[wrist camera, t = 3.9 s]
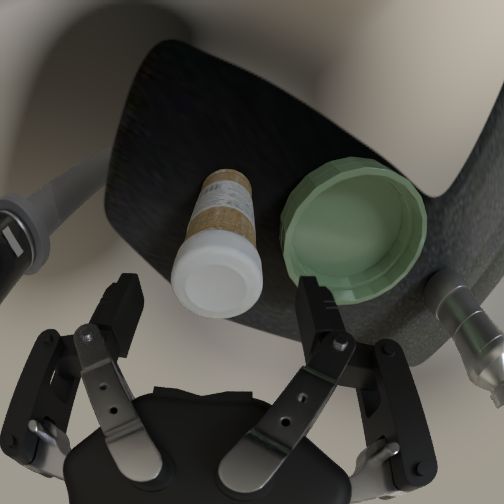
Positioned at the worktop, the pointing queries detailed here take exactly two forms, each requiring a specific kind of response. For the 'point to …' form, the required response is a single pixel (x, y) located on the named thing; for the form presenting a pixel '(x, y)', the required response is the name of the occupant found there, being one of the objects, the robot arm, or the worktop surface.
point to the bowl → (353, 228)
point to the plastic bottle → (469, 330)
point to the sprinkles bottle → (219, 250)
